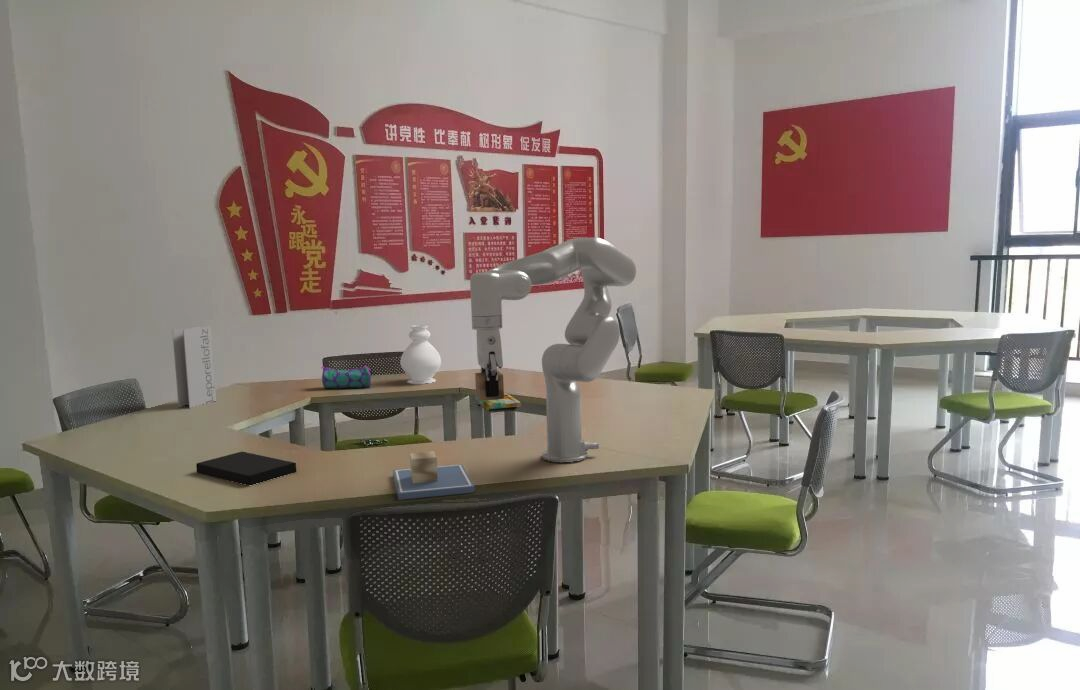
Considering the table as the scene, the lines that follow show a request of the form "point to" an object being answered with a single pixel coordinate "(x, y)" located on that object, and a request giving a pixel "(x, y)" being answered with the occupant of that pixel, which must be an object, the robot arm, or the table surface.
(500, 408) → the puzzle game
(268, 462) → the external hard drive
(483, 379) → the walnut block
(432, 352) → the decorative vase
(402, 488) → the blueprint board
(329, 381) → the pencil case
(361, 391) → the table surface
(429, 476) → the maple base block
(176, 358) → the brochure
